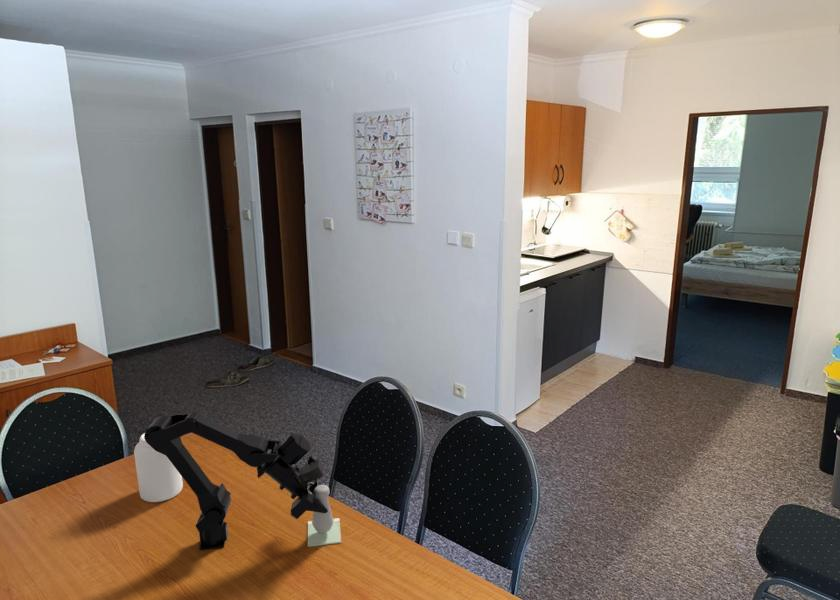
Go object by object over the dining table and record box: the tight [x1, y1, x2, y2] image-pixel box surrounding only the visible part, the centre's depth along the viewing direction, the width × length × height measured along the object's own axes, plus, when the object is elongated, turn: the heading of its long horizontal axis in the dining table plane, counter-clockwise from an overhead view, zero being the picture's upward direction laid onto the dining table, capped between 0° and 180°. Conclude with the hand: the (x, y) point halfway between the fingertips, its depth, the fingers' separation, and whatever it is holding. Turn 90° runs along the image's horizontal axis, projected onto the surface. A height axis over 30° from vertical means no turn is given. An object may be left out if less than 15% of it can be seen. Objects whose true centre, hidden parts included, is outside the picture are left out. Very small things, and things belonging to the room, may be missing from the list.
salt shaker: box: [311, 484, 334, 533], centre depth 158 cm, size 6×6×13 cm
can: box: [133, 432, 184, 503], centre depth 178 cm, size 12×12×20 cm
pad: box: [307, 517, 342, 548], centre depth 161 cm, size 9×11×1 cm
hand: (327, 508), depth 159 cm, fingers closed on salt shaker, 3 cm apart
